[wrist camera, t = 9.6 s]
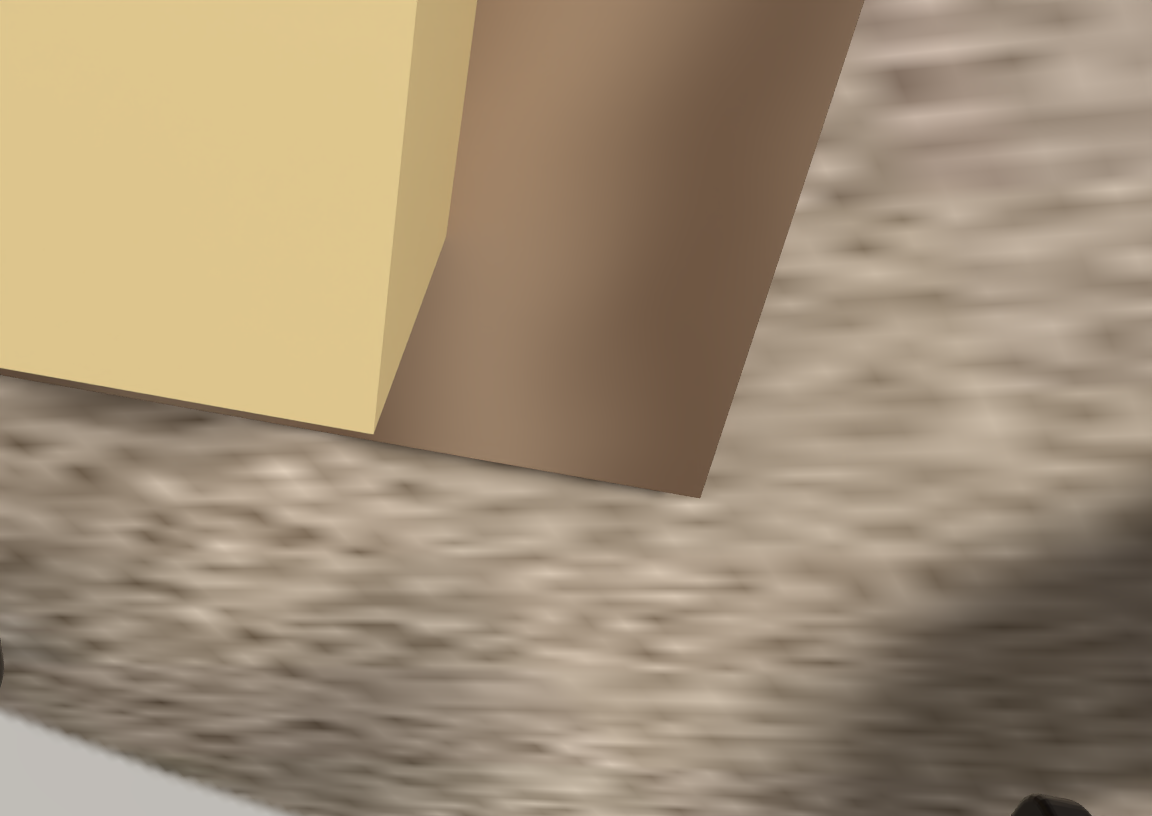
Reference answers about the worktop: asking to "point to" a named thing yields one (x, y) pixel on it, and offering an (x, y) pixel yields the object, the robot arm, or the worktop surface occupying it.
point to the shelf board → (608, 233)
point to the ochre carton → (226, 194)
